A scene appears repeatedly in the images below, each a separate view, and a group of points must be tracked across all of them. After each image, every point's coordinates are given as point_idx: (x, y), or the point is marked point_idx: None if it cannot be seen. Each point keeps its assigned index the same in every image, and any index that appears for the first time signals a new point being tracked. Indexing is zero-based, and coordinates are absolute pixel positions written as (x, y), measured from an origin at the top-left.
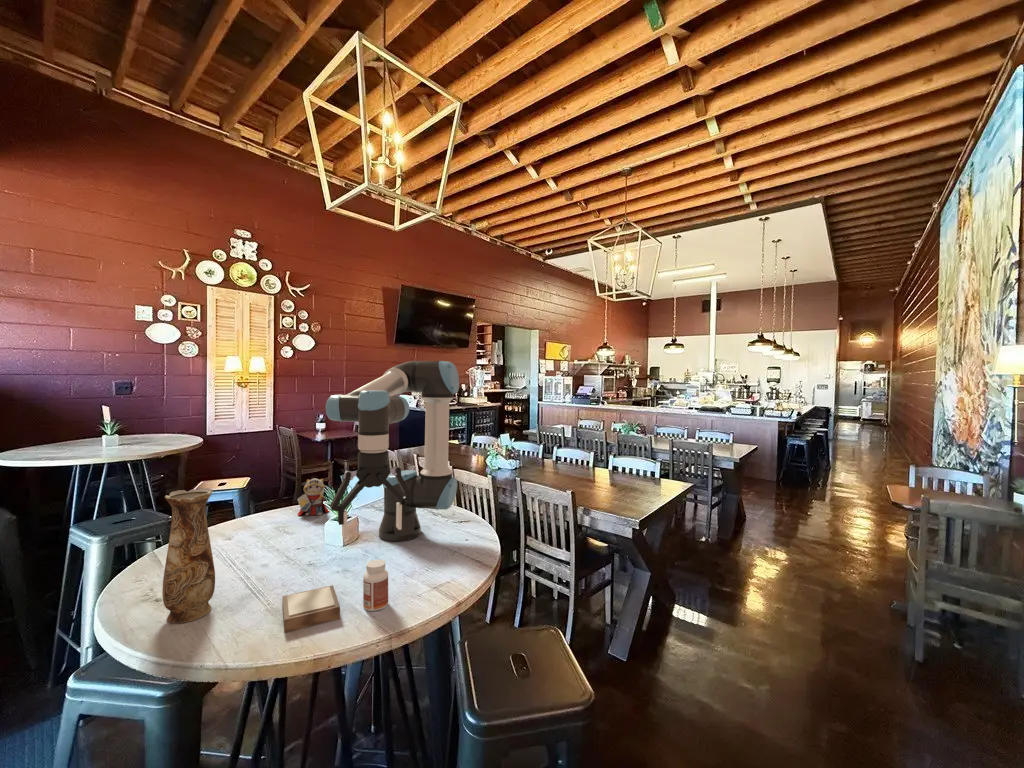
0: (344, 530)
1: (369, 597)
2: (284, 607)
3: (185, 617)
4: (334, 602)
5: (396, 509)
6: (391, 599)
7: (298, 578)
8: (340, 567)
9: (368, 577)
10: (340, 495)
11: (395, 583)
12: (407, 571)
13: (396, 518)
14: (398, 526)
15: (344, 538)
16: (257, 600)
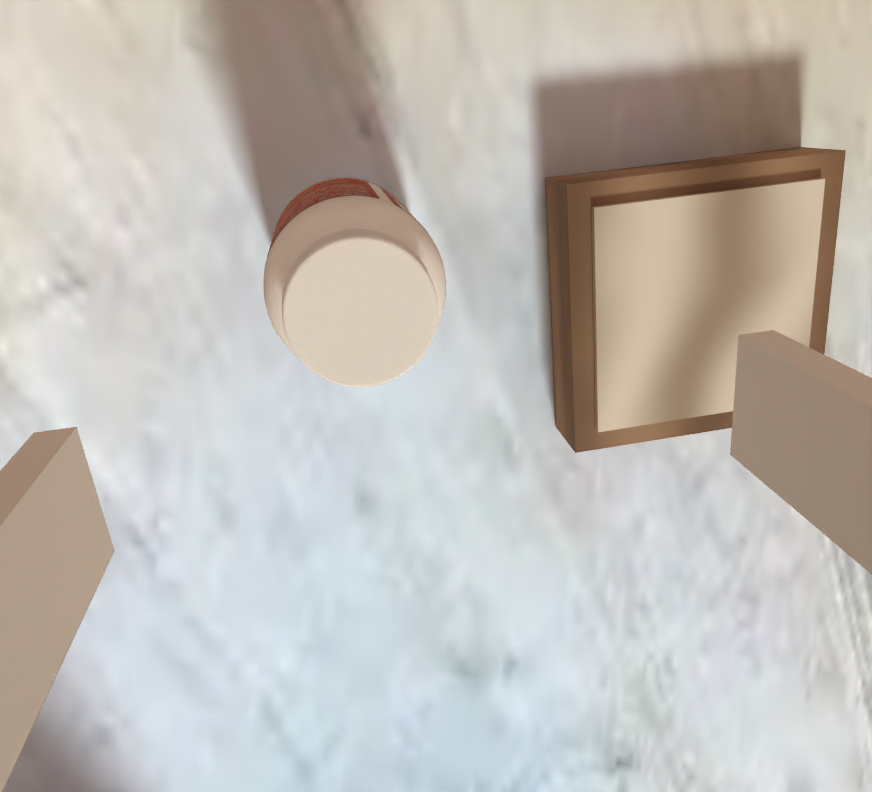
0: (832, 360)
1: (395, 199)
2: (826, 289)
3: None
4: (590, 246)
5: (21, 727)
6: (250, 288)
7: (686, 644)
8: (493, 706)
9: (417, 237)
10: None
11: (215, 466)
12: (133, 584)
13: (73, 612)
14: (66, 461)
15: (766, 331)
16: None
